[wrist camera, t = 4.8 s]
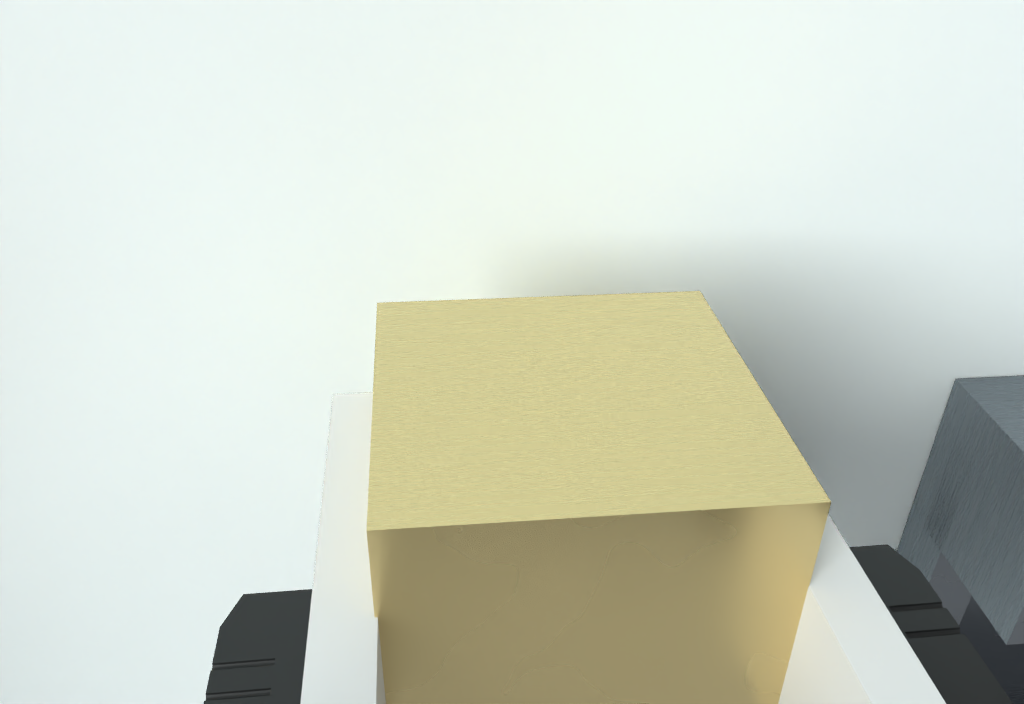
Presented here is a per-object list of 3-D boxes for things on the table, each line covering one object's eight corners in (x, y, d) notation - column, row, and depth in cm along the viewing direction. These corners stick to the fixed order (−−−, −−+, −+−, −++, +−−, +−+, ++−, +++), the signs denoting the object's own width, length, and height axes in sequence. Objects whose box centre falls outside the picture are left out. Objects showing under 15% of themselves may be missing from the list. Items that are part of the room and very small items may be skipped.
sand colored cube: (666, 531, 17) (758, 780, 12) (394, 548, 16) (393, 814, 12) (700, 291, 14) (831, 502, 10) (377, 302, 13) (366, 530, 9)
